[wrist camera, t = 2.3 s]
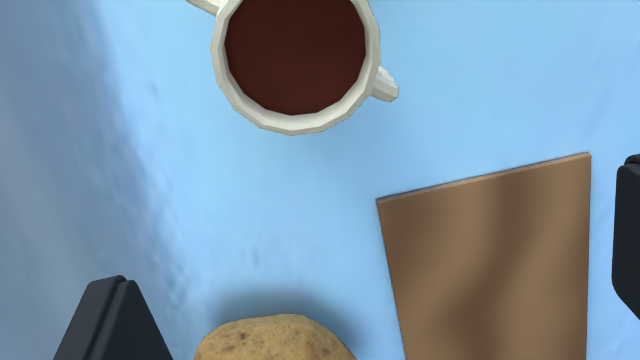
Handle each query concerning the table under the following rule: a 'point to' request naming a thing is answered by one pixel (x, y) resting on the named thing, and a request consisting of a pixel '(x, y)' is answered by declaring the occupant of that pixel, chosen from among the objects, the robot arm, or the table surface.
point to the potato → (273, 340)
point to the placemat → (493, 264)
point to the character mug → (297, 60)
